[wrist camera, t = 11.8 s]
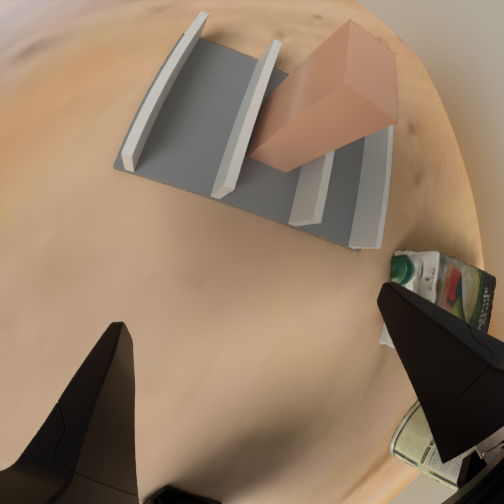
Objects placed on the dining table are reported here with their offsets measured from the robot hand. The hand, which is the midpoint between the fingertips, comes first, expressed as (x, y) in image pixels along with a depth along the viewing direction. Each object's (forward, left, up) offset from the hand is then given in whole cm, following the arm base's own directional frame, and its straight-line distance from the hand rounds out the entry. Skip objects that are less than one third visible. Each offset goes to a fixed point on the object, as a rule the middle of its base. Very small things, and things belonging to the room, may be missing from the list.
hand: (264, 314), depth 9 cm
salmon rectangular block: (+3, -11, -9) cm, 14 cm away
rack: (+3, -11, -9) cm, 15 cm away
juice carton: (-22, -15, -10) cm, 28 cm away
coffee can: (-36, -2, -10) cm, 37 cm away
